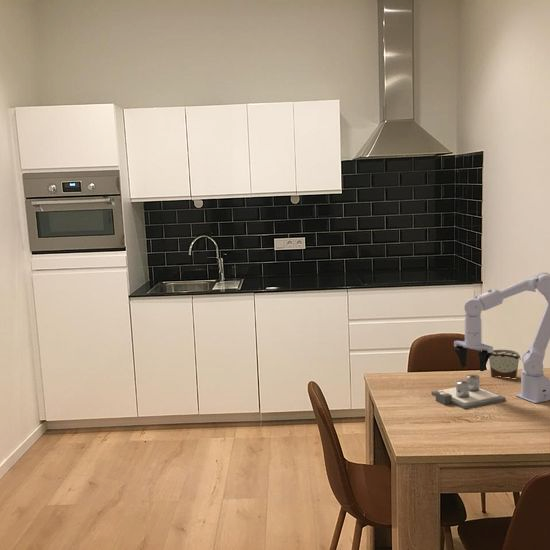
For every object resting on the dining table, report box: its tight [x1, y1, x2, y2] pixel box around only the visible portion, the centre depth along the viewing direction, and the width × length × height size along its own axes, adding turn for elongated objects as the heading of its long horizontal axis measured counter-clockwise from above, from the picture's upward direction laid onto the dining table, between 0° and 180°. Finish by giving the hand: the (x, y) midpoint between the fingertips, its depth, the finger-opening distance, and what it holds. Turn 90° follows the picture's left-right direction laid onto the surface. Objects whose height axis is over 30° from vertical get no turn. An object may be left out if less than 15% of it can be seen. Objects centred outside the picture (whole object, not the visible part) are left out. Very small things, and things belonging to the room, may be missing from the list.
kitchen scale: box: [431, 386, 507, 410], centre depth 222 cm, size 18×21×3 cm
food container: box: [488, 349, 522, 379], centre depth 245 cm, size 12×6×10 cm, turn 58°
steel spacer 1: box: [455, 379, 469, 398], centre depth 220 cm, size 4×4×5 cm
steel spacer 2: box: [465, 374, 481, 392], centre depth 226 cm, size 4×4×5 cm
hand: (473, 368), depth 225 cm, fingers open, 7 cm apart
